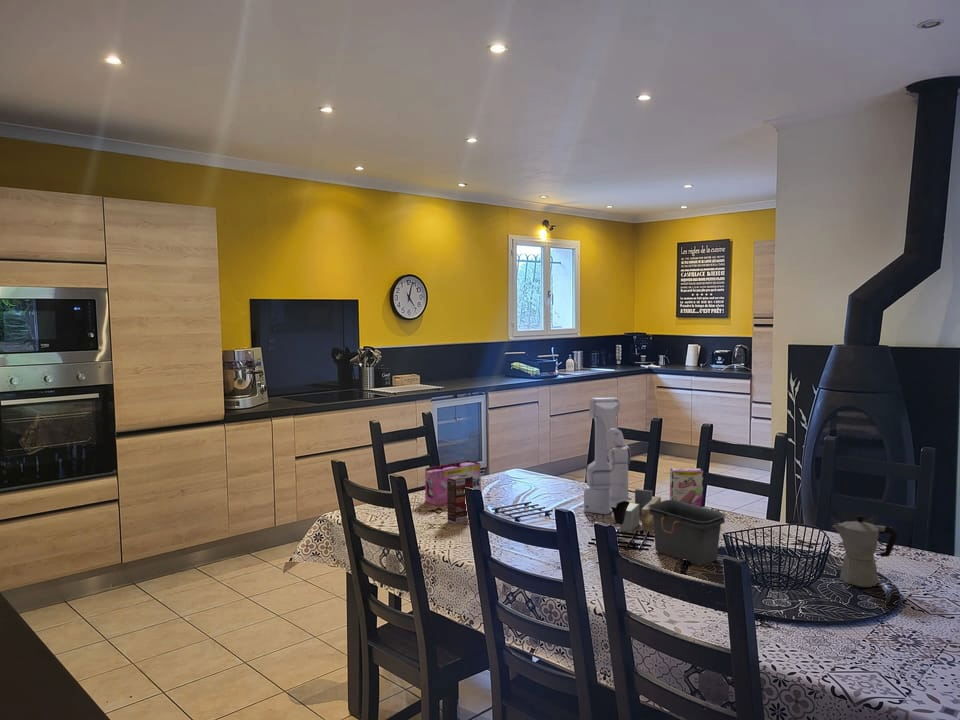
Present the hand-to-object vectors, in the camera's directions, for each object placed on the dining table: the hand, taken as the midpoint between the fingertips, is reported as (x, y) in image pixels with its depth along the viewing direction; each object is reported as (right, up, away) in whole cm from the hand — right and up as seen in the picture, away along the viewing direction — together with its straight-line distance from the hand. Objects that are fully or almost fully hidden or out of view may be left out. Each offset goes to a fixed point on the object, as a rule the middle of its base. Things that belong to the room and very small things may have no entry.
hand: (619, 523), depth 228 cm
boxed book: (+5, -3, +9) cm, 11 cm away
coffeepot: (+57, -6, -42) cm, 71 cm away
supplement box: (-53, -4, +19) cm, 56 cm away
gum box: (-57, -2, +49) cm, 75 cm away
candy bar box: (+29, -2, +23) cm, 37 cm away
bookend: (+13, -2, +23) cm, 26 cm away
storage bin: (+15, -5, -21) cm, 27 cm away
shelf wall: (+14, -3, +13) cm, 19 cm away
